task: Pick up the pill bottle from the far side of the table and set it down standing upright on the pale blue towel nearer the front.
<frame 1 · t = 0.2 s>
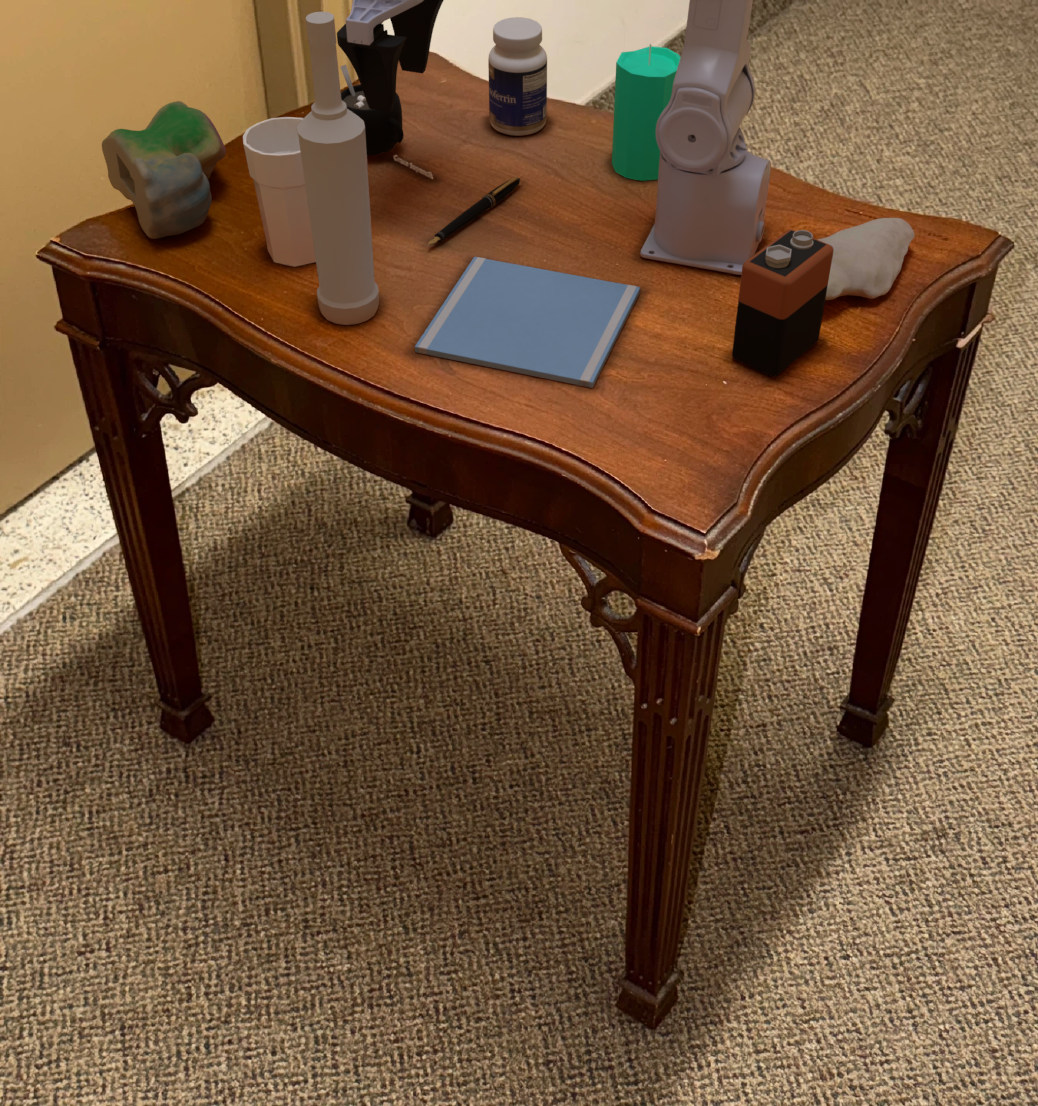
hand: (397, 89, 128), 10 cm above the table, tool pointing down, fingers open, 7 cm apart
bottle: (349, 310, 121), on the table
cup: (297, 252, 128), on the table
candle: (642, 166, 138), on the table
stone tool: (797, 298, 119), point 1 cm above the table
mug: (390, 159, 139), on the table
sculpture: (122, 179, 129), point 4 cm above the table
fountain pen: (475, 219, 132), on the table
battery: (774, 352, 117), on the table
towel: (530, 321, 120), on the table
pill bottle: (518, 125, 144), on the table
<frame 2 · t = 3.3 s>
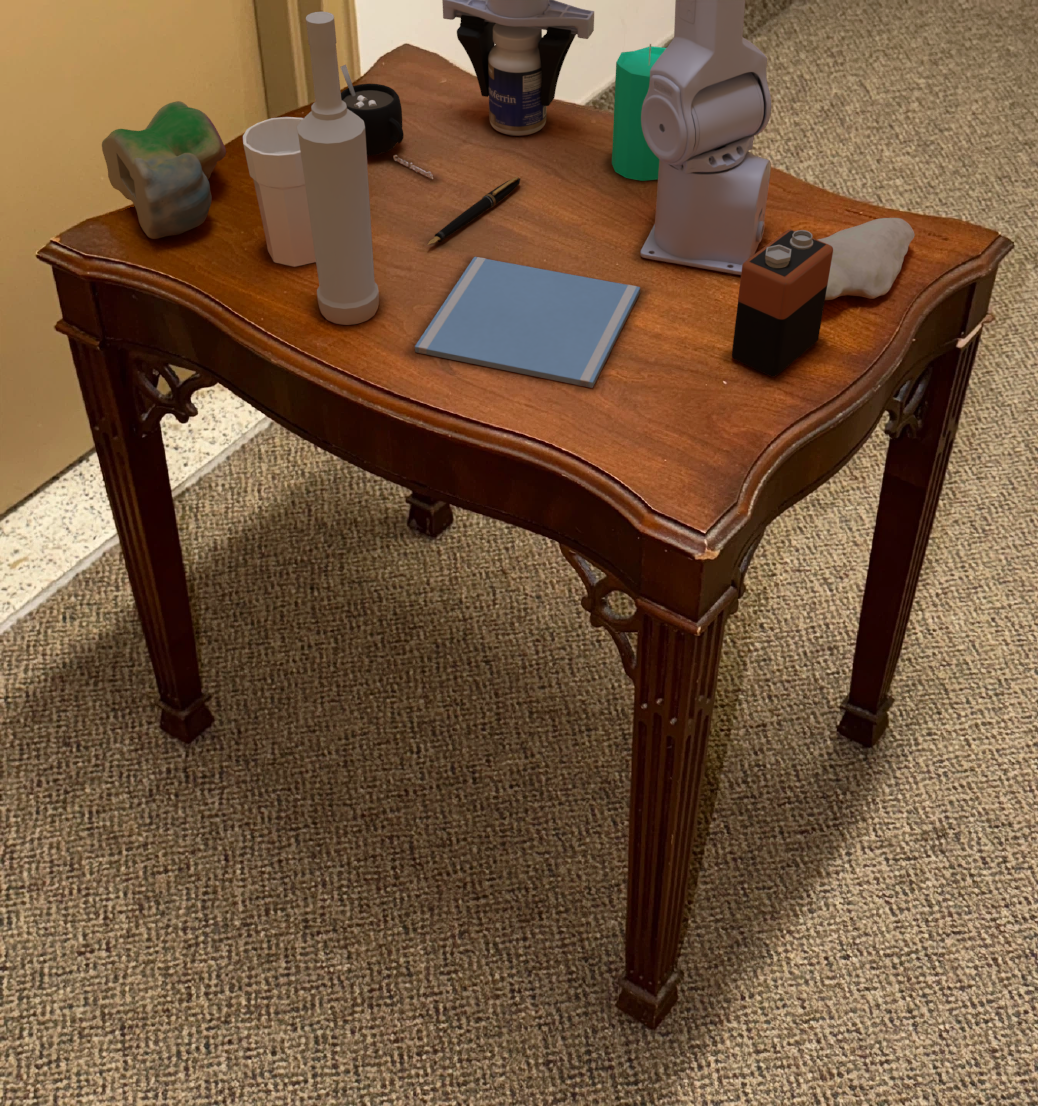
hand: (518, 96, 142), 3 cm above the table, tool pointing down, fingers closed on pill bottle, 6 cm apart
pill bottle: (518, 125, 144), on the table, touching gripper
everything else where it was.
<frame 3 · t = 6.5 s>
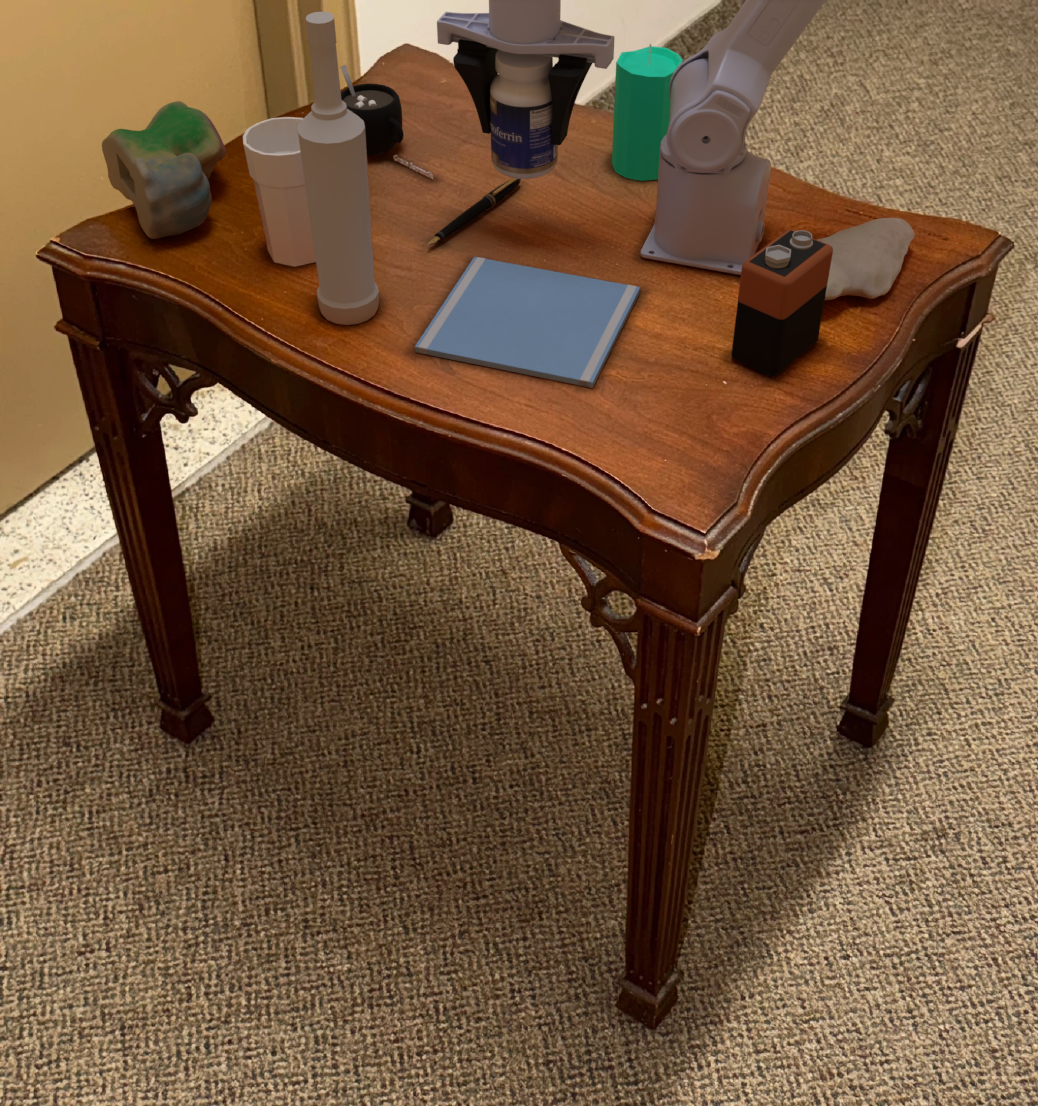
hand: (525, 133, 122), 10 cm above the table, tool pointing down, fingers closed on pill bottle, 6 cm apart
pill bottle: (524, 166, 124), point 7 cm above the table, touching gripper
everything else where it was.
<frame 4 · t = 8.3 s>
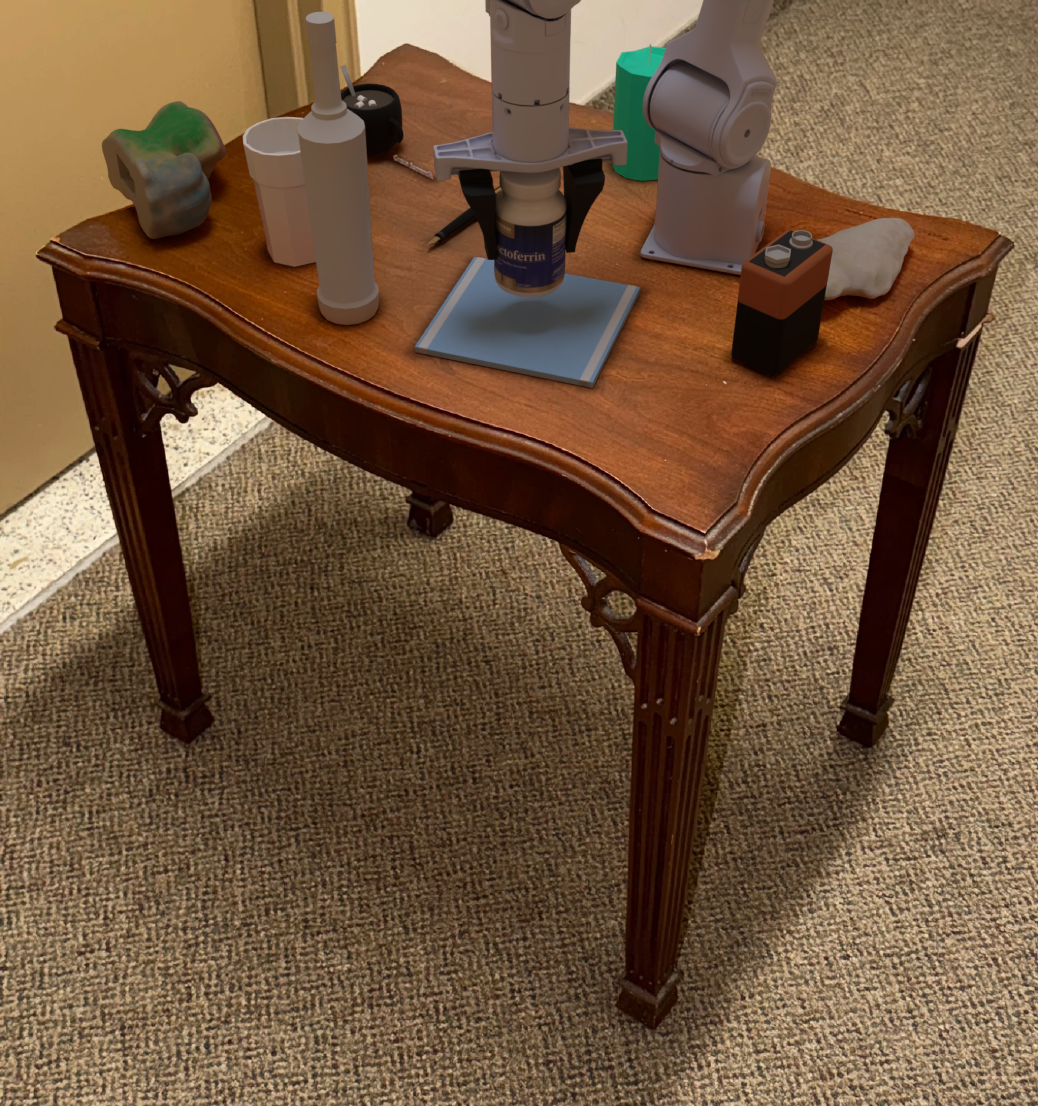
hand: (530, 249, 115), 7 cm above the table, tool pointing down, fingers closed on pill bottle, 6 cm apart
pill bottle: (529, 282, 117), point 4 cm above the table, touching gripper
everything else where it was.
when the fingers open (3 cm above the table, at t = 9.8 s): pill bottle stays where it is, resting on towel.
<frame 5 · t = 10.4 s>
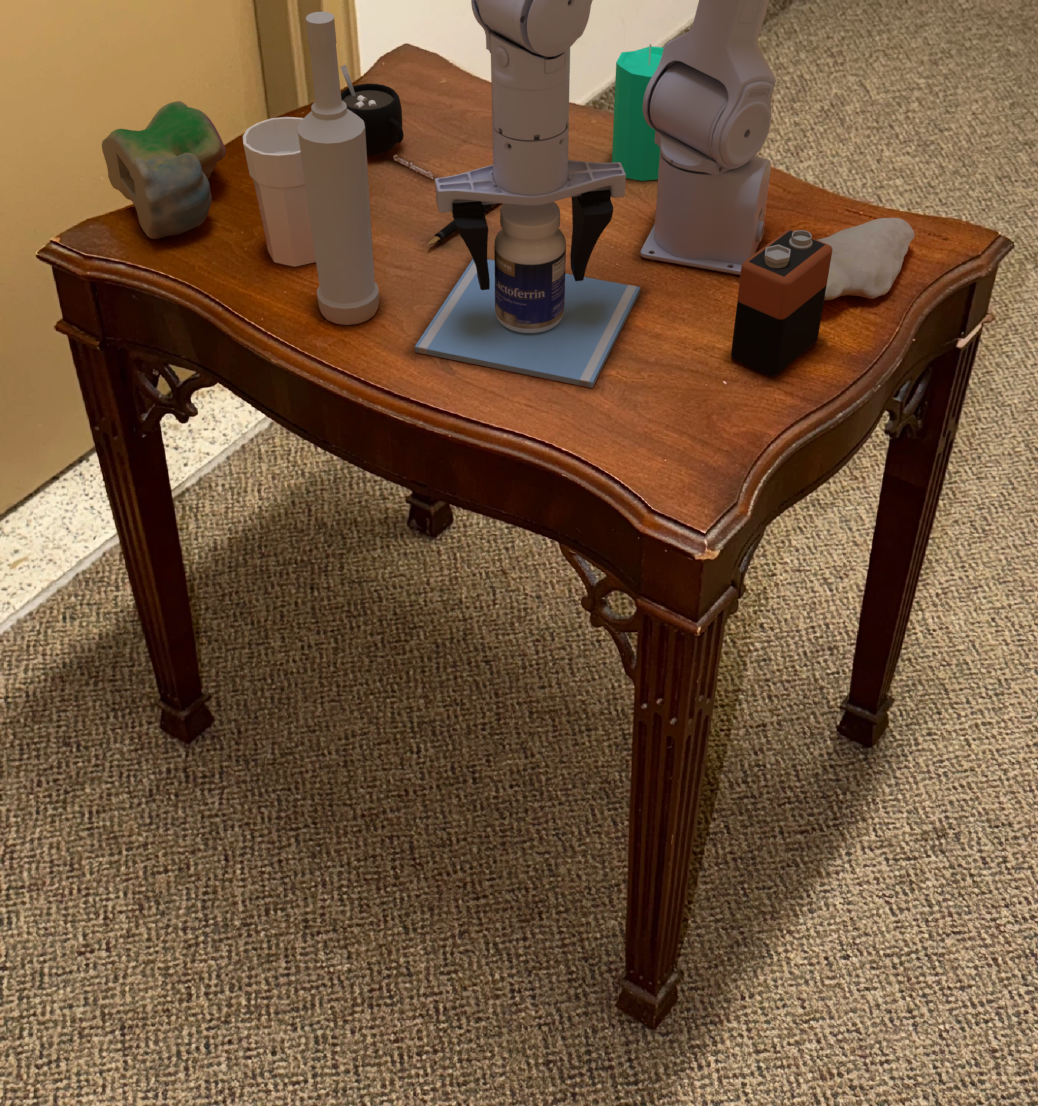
hand: (530, 278, 117), 4 cm above the table, tool pointing down, fingers open, 7 cm apart
pill bottle: (529, 318, 119), resting on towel
everything else where it was.
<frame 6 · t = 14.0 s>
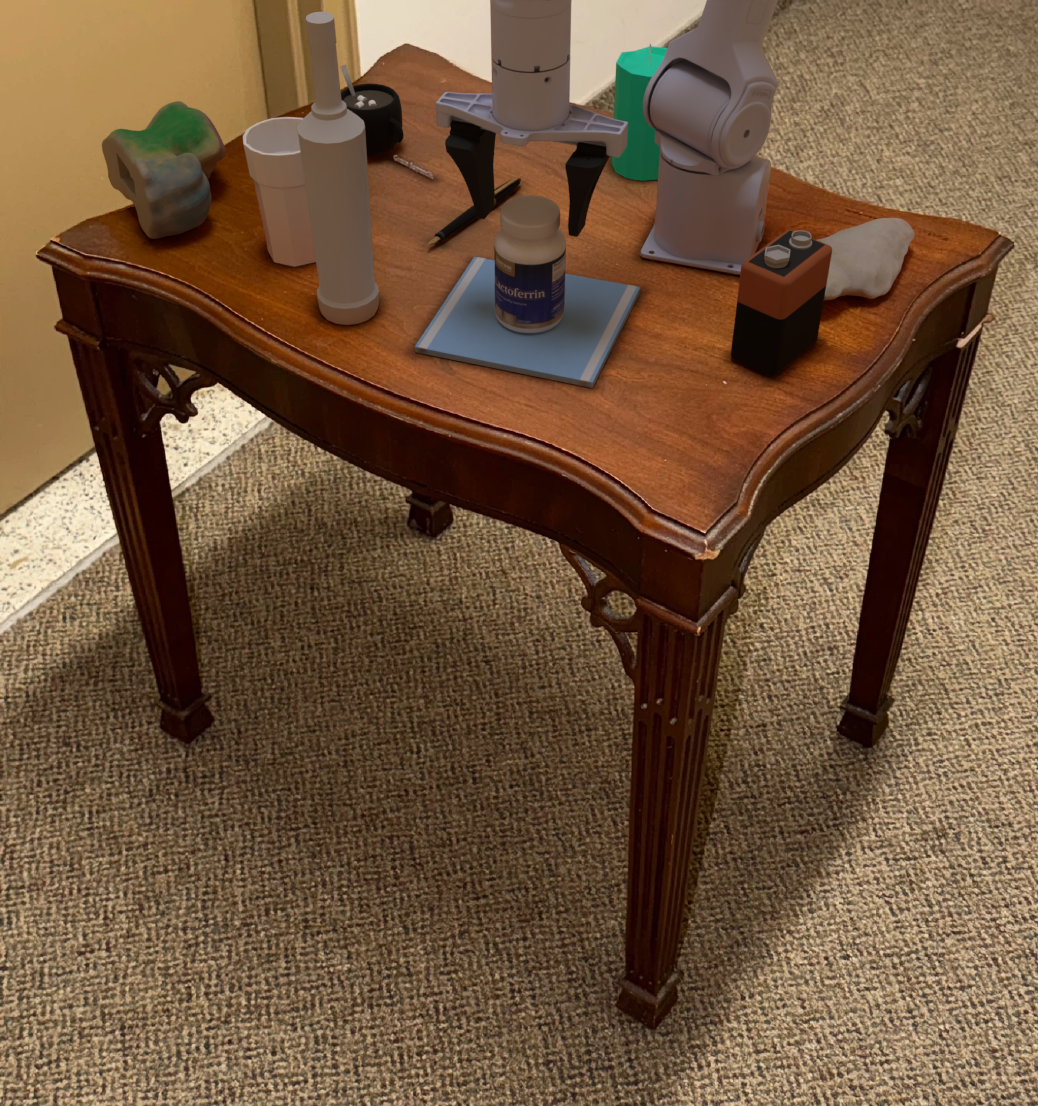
hand: (530, 221, 113), 9 cm above the table, tool pointing down, fingers open, 7 cm apart
nothing on the table moved.
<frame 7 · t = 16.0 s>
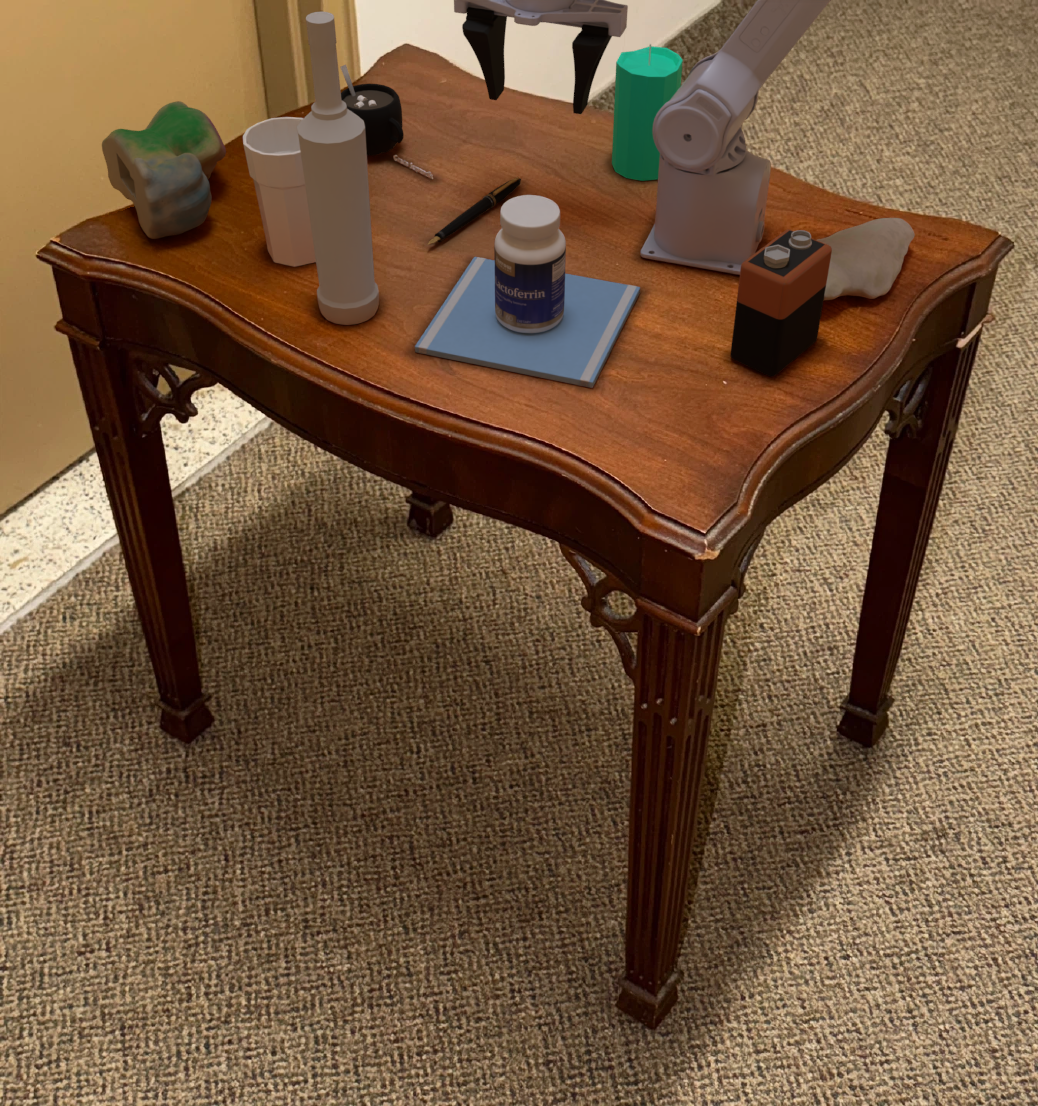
hand: (538, 101, 125), 10 cm above the table, tool pointing down, fingers open, 7 cm apart
nothing on the table moved.
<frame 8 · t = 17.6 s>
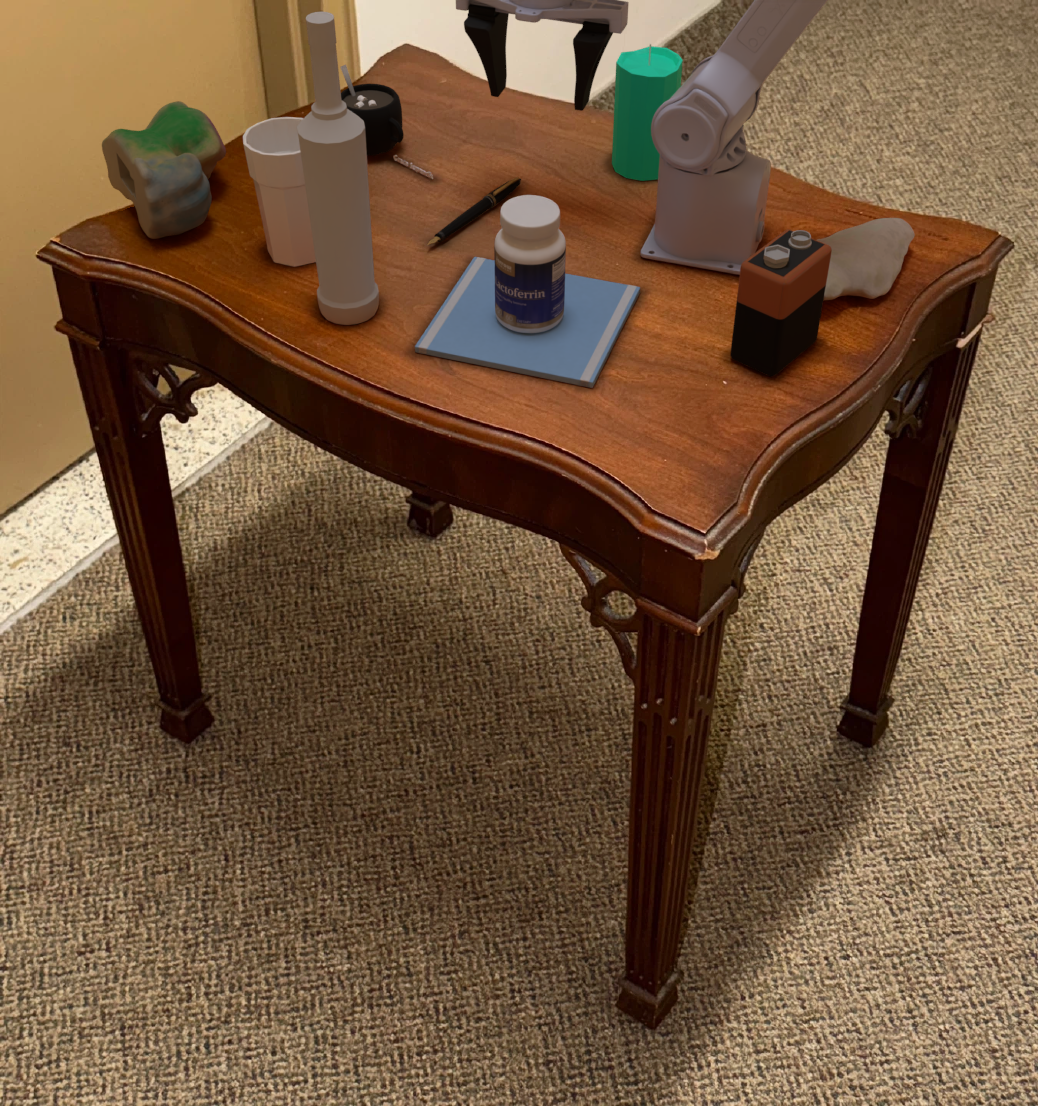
hand: (539, 98, 126), 10 cm above the table, tool pointing down, fingers open, 7 cm apart
nothing on the table moved.
at the end: pill bottle inside the target area on the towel (0.1 cm from its centre), point 0.4 cm above the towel's base; pill bottle tilted 0°; the gripper is holding nothing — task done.
